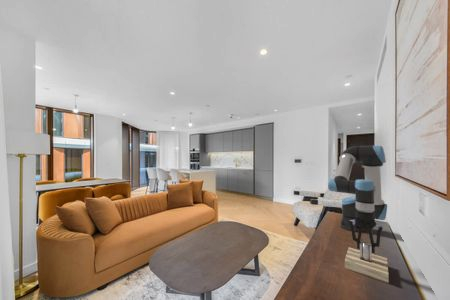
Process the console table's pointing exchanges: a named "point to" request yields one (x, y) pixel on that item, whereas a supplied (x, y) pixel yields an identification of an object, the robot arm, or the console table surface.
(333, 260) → the console table surface
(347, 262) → the bore block
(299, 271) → the console table surface
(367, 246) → the pin
